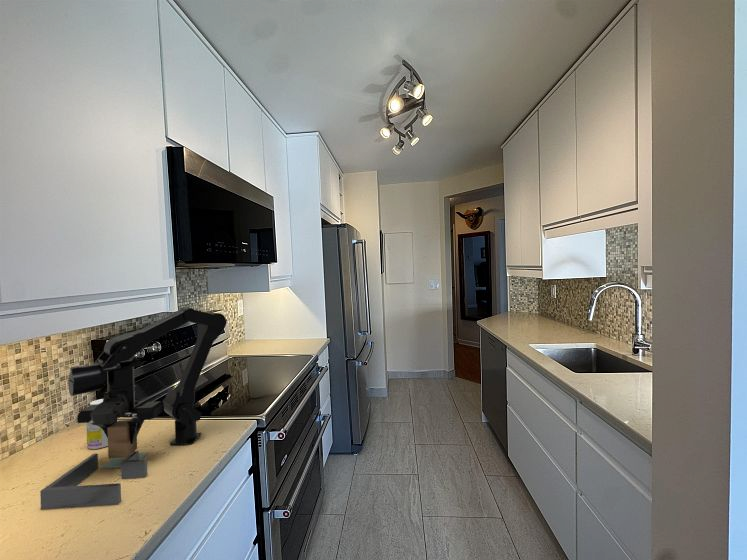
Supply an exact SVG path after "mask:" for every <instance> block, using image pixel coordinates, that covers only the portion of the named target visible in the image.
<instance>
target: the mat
mask: <svg viewBox="0 0 747 560" xmlns="http://www.w3.org/2000/svg"><path fill="white" fill-rule="evenodd" d="M146 454H147V455H148V454H149V451H145V452H142V451H139V460H141V459H144V458H145V457H146V456H147V455H146ZM130 455H131V454H130ZM130 455H129V456H130ZM145 455H146V456H145ZM144 456H145V457H144ZM143 457H144V458H143ZM126 458H127V457H125V458H110V459H109V460H108V461H107V462H105V463H104V464H103V465H102V466H100V469H104V470H105V469H117V468H118V469H119V468H120V469H121V462H122V461H124V460H125V459H126Z"/></svg>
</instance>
